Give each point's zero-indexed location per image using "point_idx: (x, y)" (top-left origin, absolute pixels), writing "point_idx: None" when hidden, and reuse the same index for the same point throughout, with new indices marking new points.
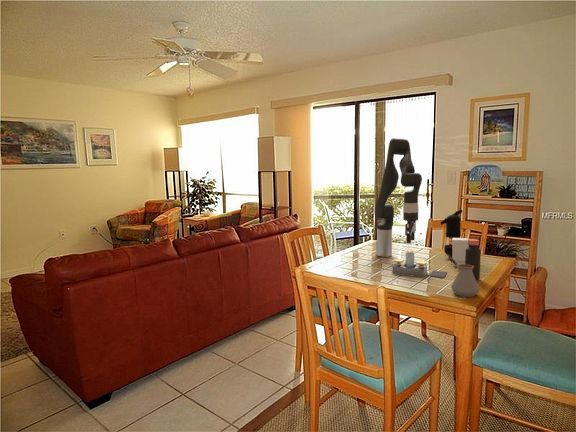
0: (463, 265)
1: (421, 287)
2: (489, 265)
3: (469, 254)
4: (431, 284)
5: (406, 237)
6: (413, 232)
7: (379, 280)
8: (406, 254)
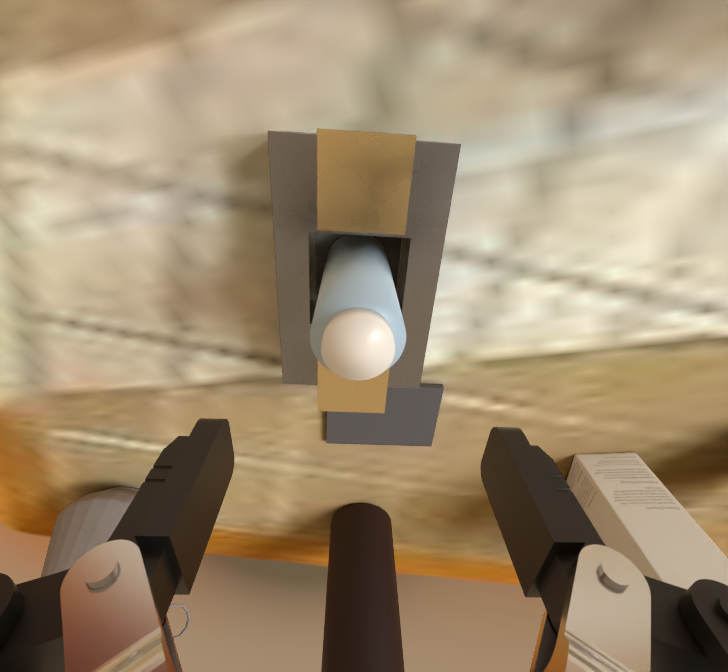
0: None
1: (90, 367)
2: None
3: (325, 665)
4: (178, 402)
5: (155, 502)
6: (549, 613)
7: (14, 57)
8: (323, 302)
